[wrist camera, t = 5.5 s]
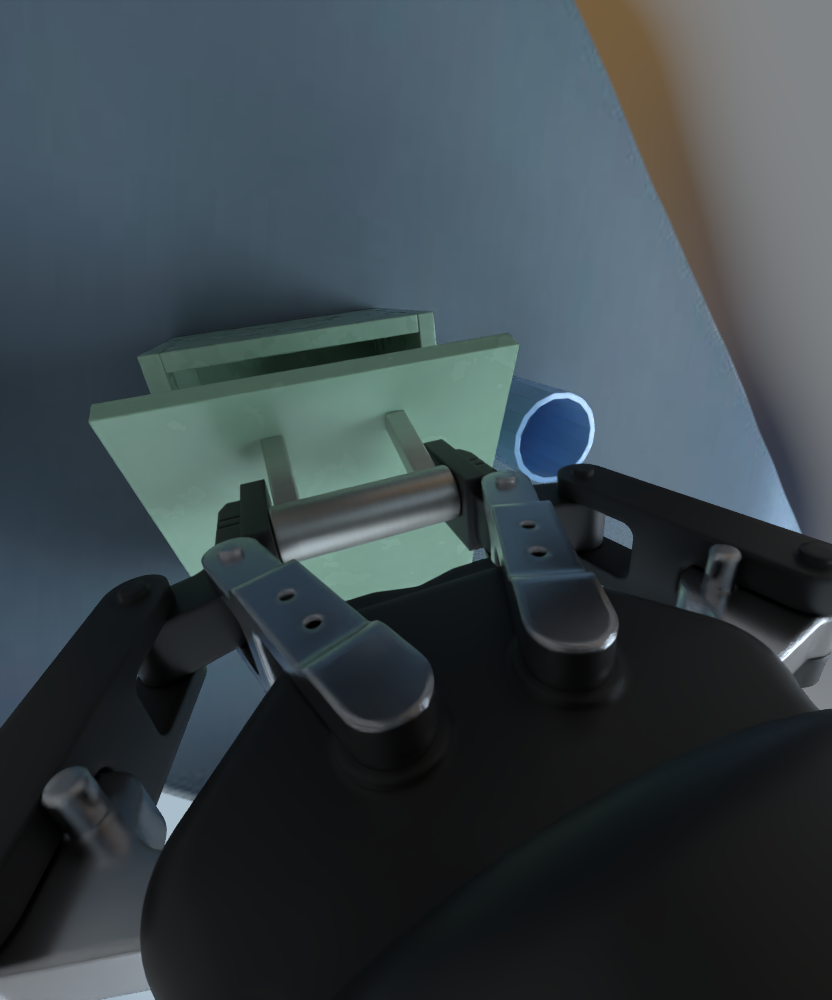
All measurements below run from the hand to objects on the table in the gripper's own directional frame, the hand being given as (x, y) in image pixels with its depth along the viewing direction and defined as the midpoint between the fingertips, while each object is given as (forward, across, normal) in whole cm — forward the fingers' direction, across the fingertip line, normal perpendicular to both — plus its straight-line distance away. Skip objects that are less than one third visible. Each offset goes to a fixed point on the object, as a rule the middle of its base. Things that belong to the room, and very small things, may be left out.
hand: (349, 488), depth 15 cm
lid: (+4, 0, +4) cm, 5 cm away
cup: (+18, -15, +5) cm, 24 cm away
